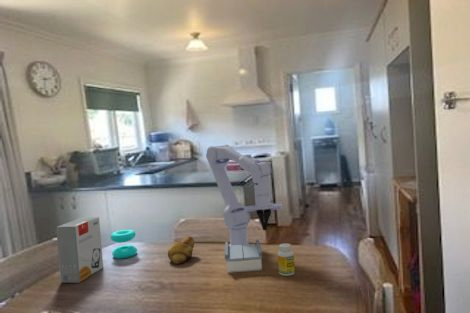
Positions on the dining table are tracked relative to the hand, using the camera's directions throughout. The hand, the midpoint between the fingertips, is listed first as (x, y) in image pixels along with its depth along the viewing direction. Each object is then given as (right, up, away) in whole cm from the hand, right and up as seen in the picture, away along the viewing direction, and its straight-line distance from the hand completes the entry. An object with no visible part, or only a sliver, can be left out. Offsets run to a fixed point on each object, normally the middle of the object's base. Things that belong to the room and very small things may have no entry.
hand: (264, 229), depth 141 cm
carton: (-8, -12, -6) cm, 15 cm away
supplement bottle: (+6, -11, -17) cm, 21 cm away
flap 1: (-12, -7, -7) cm, 15 cm away
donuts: (-57, -14, +14) cm, 61 cm away
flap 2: (-5, -7, -7) cm, 11 cm away
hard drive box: (-67, -16, -5) cm, 69 cm away
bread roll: (-33, -13, +4) cm, 35 cm away
